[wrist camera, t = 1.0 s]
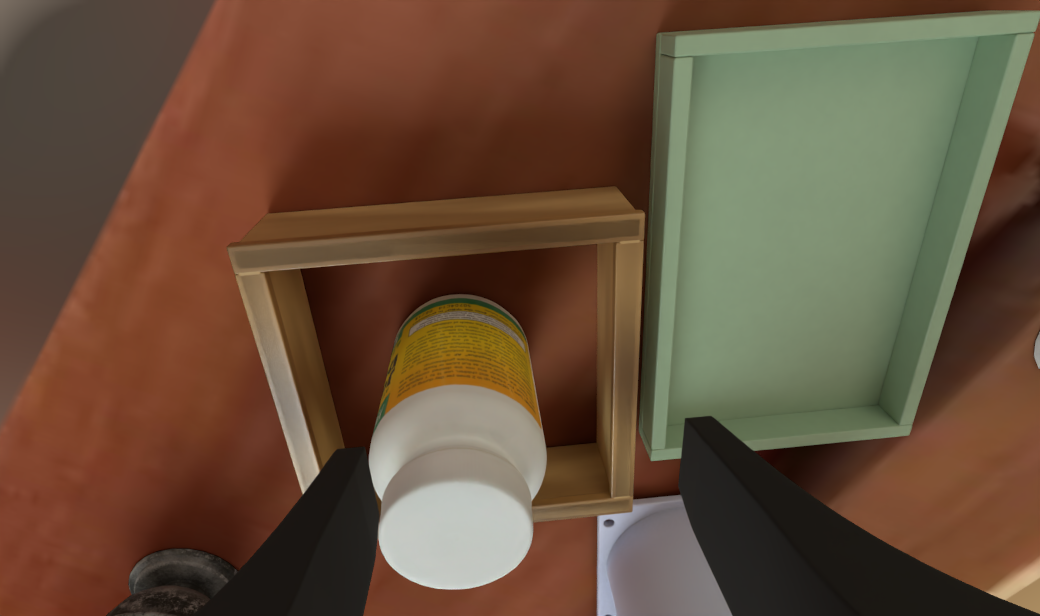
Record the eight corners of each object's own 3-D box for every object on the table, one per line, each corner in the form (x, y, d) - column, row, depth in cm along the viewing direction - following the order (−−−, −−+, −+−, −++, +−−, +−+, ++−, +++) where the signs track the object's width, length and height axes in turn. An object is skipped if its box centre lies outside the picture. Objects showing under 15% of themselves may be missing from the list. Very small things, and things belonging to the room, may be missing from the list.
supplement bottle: (534, 393, 25) (569, 593, 16) (409, 412, 25) (378, 623, 16) (518, 278, 22) (549, 444, 14) (379, 299, 22) (324, 479, 14)
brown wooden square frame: (613, 454, 27) (632, 512, 24) (335, 481, 26) (317, 545, 23) (619, 182, 21) (645, 212, 18) (262, 210, 20) (225, 247, 17)
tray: (880, 407, 27) (909, 435, 25) (638, 431, 26) (650, 461, 24) (990, 10, 19) (1043, 10, 18) (655, 32, 19) (675, 35, 17)
